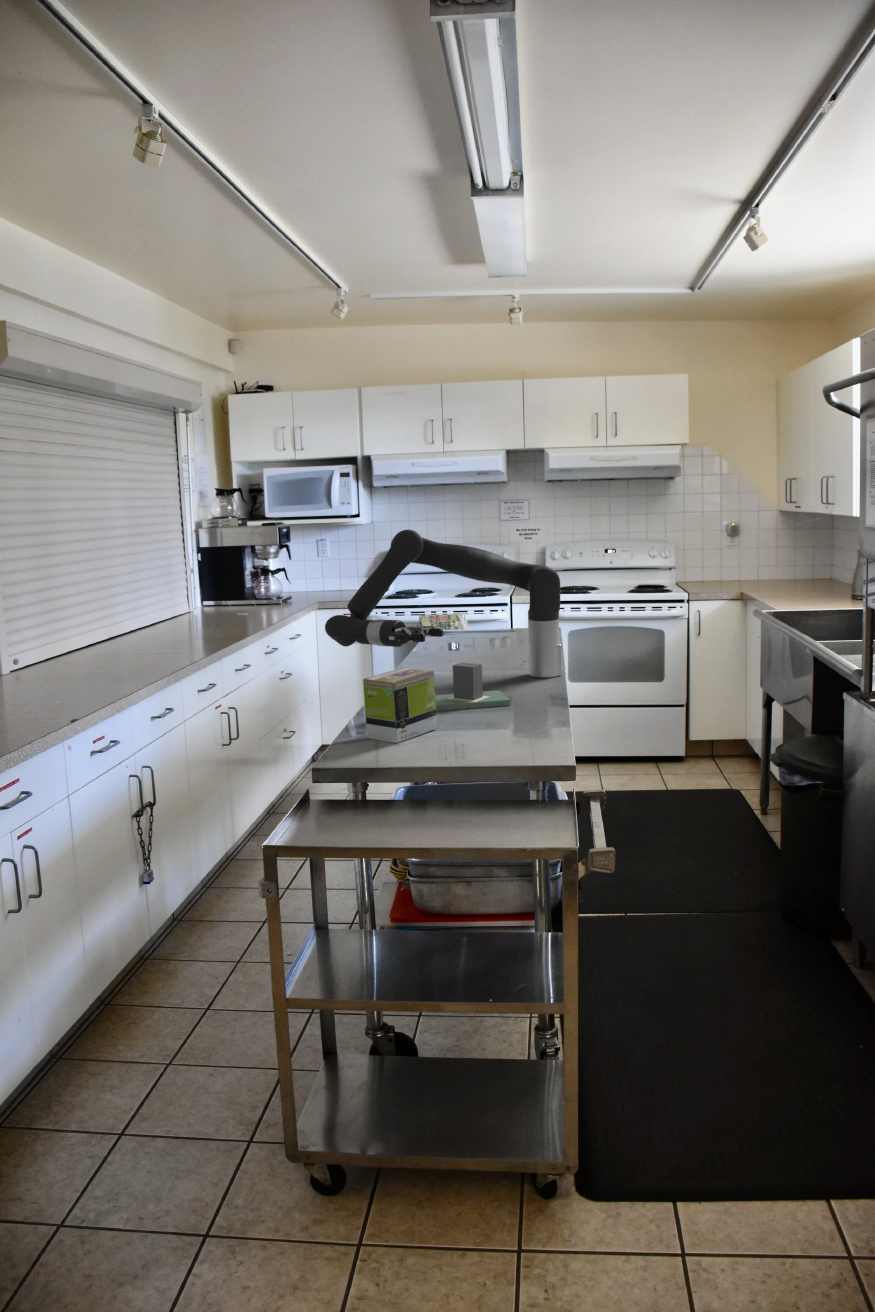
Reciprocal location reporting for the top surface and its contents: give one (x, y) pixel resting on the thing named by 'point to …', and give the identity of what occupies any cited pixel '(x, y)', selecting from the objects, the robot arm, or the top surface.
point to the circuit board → (471, 701)
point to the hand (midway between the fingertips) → (433, 635)
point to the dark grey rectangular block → (467, 681)
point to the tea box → (400, 704)
